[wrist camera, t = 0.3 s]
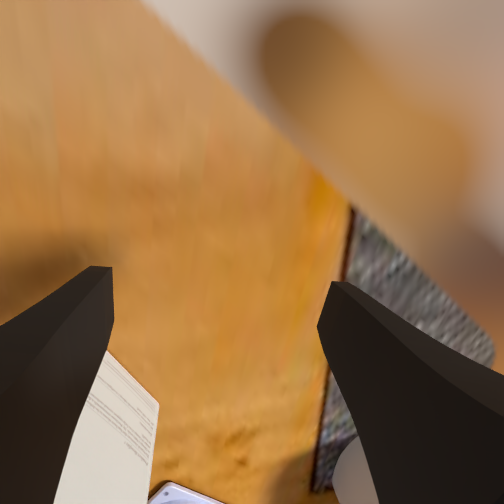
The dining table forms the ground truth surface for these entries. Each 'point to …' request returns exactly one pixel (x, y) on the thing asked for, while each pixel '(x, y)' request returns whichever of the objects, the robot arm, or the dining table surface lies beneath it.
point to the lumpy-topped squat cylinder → (353, 477)
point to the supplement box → (111, 442)
